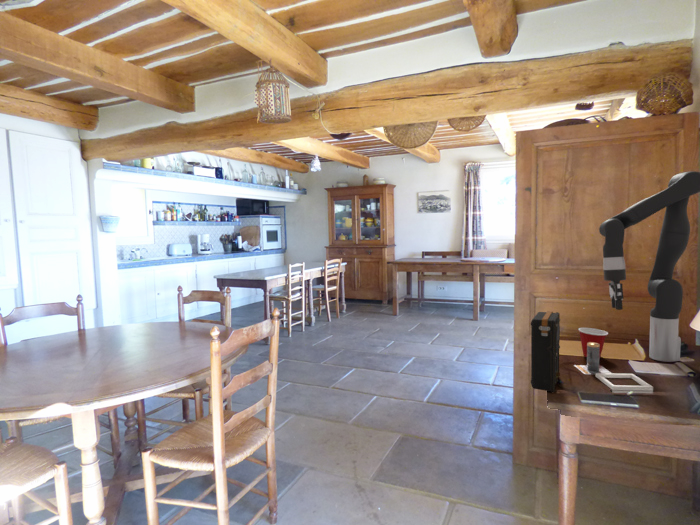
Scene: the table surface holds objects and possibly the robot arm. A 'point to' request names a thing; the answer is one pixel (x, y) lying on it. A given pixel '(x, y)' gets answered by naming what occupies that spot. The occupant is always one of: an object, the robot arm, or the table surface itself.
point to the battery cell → (593, 356)
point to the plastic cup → (592, 338)
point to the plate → (584, 370)
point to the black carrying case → (545, 350)
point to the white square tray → (624, 387)
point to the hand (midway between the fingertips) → (617, 308)
